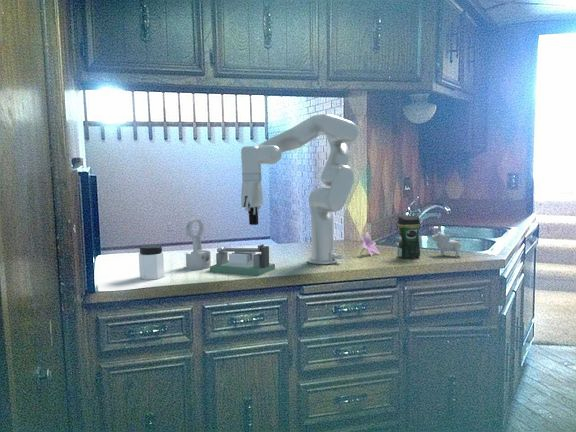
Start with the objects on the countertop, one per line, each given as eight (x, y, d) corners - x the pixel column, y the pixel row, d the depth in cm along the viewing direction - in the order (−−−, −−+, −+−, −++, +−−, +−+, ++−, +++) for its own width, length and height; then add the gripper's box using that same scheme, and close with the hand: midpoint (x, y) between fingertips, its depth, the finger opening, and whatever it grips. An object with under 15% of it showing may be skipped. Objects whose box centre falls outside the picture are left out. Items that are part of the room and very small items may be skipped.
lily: (357, 259, 239) (368, 241, 236) (346, 245, 249) (356, 228, 246) (378, 265, 245) (388, 247, 242) (366, 251, 255) (376, 234, 252)
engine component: (215, 266, 223) (199, 264, 229) (214, 217, 220) (198, 216, 227) (195, 271, 214) (179, 268, 221) (194, 220, 212) (177, 218, 218)
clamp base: (274, 268, 217) (274, 244, 216) (259, 275, 204) (258, 249, 203) (227, 264, 226) (227, 241, 225) (209, 271, 213) (209, 246, 212)
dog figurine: (432, 253, 246) (432, 230, 244) (461, 255, 241) (461, 231, 240) (430, 255, 241) (431, 232, 240) (460, 257, 236) (461, 233, 235)
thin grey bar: (264, 251, 213) (264, 244, 212) (259, 253, 209) (259, 246, 208) (222, 250, 221) (222, 243, 220) (217, 252, 217) (216, 245, 216)
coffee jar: (416, 255, 242) (416, 214, 240) (422, 258, 234) (422, 216, 232) (395, 256, 241) (395, 214, 239) (400, 259, 233) (401, 216, 231)
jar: (167, 277, 203) (166, 246, 202) (147, 281, 198) (146, 249, 197) (156, 274, 210) (155, 243, 209) (136, 277, 205) (135, 246, 203)
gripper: (252, 177, 218) (254, 221, 220) (233, 179, 204) (236, 227, 206) (268, 176, 214) (270, 222, 217) (251, 179, 201) (253, 227, 203)
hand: (253, 224), depth 211 cm, fingers closed
